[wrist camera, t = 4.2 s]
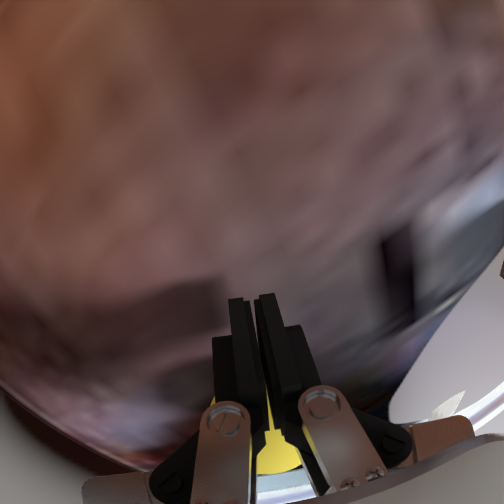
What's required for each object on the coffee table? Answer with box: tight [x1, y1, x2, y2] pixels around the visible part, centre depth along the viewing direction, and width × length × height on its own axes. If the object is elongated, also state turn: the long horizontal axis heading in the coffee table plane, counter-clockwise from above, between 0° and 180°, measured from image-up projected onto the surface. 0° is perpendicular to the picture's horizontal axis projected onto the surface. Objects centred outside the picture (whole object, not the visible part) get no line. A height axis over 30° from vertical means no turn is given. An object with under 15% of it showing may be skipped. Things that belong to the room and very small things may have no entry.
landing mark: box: [257, 468, 310, 493], centre depth 32 cm, size 12×12×1 cm
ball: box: [210, 384, 302, 474], centre depth 13 cm, size 6×6×6 cm
